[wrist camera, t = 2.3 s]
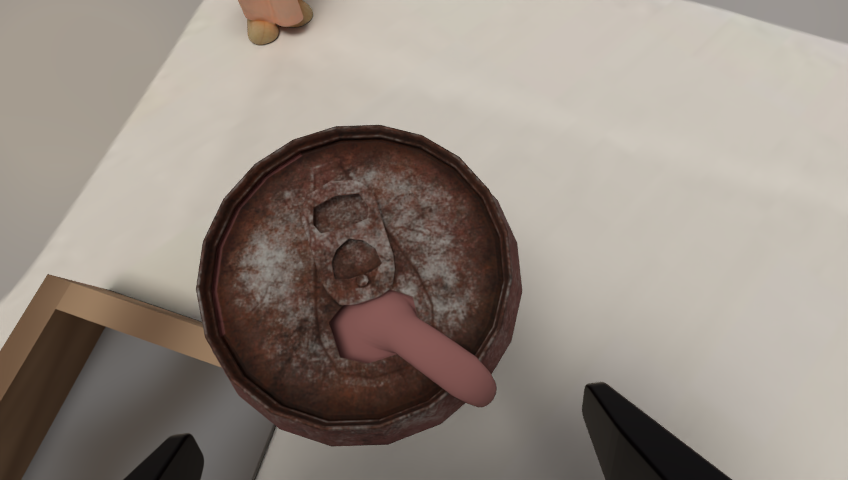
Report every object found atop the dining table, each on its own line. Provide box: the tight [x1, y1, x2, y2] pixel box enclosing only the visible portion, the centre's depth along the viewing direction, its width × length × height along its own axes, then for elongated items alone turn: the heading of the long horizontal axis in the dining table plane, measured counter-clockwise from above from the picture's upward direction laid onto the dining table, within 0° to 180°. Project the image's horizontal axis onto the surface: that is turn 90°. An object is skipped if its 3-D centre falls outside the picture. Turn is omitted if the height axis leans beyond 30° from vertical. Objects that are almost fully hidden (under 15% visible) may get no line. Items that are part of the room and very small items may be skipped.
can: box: [196, 125, 522, 446], centre depth 13 cm, size 6×6×14 cm
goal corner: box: [0, 274, 275, 480], centre depth 17 cm, size 11×11×4 cm
